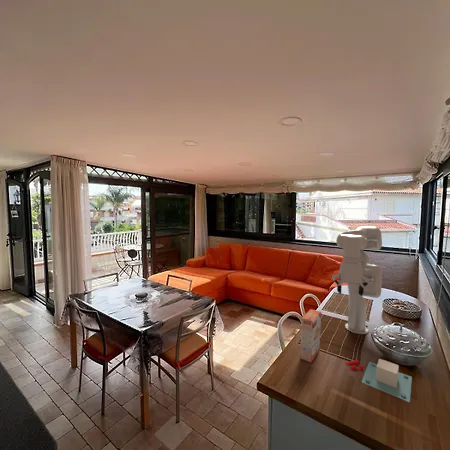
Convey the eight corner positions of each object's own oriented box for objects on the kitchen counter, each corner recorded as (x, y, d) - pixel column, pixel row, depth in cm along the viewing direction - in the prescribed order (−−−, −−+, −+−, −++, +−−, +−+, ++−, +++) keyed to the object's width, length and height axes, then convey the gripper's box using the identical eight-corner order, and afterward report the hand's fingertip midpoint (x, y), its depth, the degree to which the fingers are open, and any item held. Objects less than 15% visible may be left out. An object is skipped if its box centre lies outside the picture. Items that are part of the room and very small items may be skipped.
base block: (378, 371, 105) (379, 358, 105) (398, 378, 100) (398, 365, 100) (376, 380, 100) (376, 366, 99) (396, 388, 95) (397, 373, 95)
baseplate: (369, 363, 112) (369, 360, 112) (411, 379, 102) (412, 375, 102) (361, 384, 98) (361, 380, 98) (409, 405, 88) (409, 400, 88)
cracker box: (312, 363, 112) (313, 321, 111) (299, 359, 116) (300, 317, 114) (320, 350, 123) (321, 311, 122) (309, 346, 127) (309, 308, 125)
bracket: (357, 366, 111) (357, 360, 111) (363, 373, 106) (363, 367, 106) (343, 366, 111) (343, 360, 111) (349, 373, 106) (349, 366, 106)
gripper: (367, 260, 120) (366, 293, 120) (331, 258, 124) (329, 290, 124) (373, 262, 113) (371, 298, 113) (334, 260, 116) (333, 294, 117)
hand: (349, 294), depth 119 cm, fingers open, 9 cm apart
